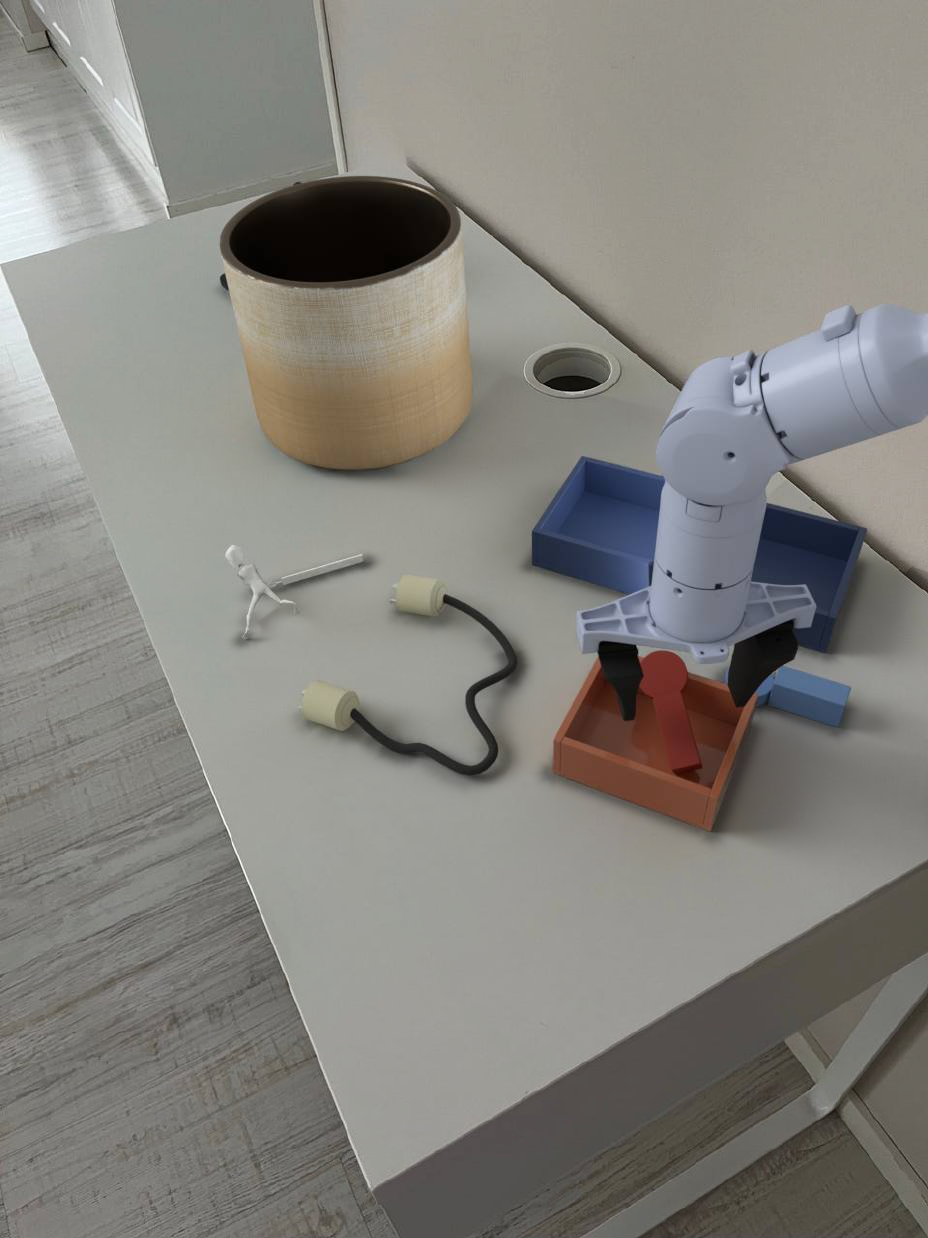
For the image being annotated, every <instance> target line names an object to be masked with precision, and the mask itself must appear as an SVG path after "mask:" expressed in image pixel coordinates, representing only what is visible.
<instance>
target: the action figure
mask: <svg viewBox="0 0 928 1238" xmlns="http://www.w3.org/2000/svg"><path fill="white" fill-rule="evenodd" d="M225 558H226V560H227V561H228V562H229V564H230V565H231V567H232V568H233V569H235V570H239V569H240V570H239V571H238V573H237V577H239V579H240V581H242V583H243V585H244V586H250V588H251V590H252V593H253V595H252V598H251V602H250V605H249V608H248V612H247V615H246V627H245V632H244V634H243V635H242V636H241V638H242V639H243V640H246V639H247V638H248V634H249V633H250V631H251V628H250V621H251V619H252V614H253V611H254V610H255V608H256V606H257V604H258V603H259V601H260V599H261V598H262V596H263V594H264V595H266V596H267V597H269V598H271V599H272V600H274V601H275V602H277V603H278V604H280V606H281V605H282V606H283V605H284V604H285V605H286V604H292V605H293V609H294V613H293V614H294V616H297V615H299V614H300V611H299V609H298V607H297V604H296V602H295V601H294V600H293V601H291V600H288V599H280V597H278V596H277V595H276V594H275V592H274V591H273V590H272V588H275V587H276V586H277V585H278V584H280V583H282V585H283V586H285V585H289V584H292V583H295V582H299V581H302V580H306V579H309V578H313V577H316V576H320V575H323V574H326V573H329V572H332V571H337V570H340V569H343V568H346V567H351V566H353V565H357V564H360V563H363V562H364V555H363V553H360V554H357V555H354V556H350V557H347V558H346V557H345V558H343V559H341V560H340V559H339V560H337V561H336V560H335V561H333V562H329V563H326V564H323V565H320V566H316V567H313V568H308V569H307V570H301V571H299V572H296V573H293V574H289V575H286V576H282V577H281V580H280V581H273V580H271V581H268V580H267V578H266V577H265V576H264V575H263V573H261V571H260V570H259V568H258V567H257V565H256V563H250V564H249V563H247V564H244V563H243V560H244V557H243V550H242V548H241V547H240V546H238V545H234V544H231V545H230V546H229V548H227V550H226V552H225ZM263 581H264V582H265V583H266V584H265V583H264V582H263Z"/></svg>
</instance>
